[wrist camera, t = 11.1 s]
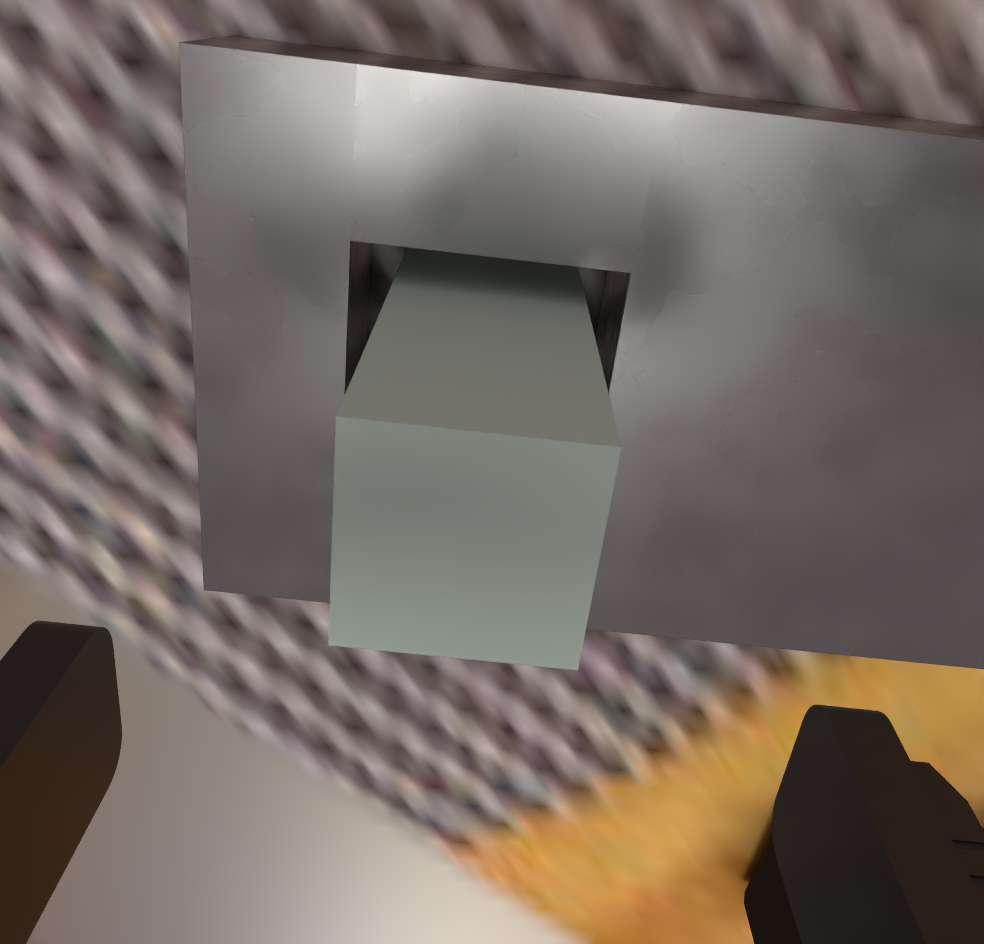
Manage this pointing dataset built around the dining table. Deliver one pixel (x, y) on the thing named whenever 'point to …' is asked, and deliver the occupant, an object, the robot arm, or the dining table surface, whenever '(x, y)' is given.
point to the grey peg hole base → (616, 328)
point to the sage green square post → (473, 466)
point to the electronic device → (769, 903)
